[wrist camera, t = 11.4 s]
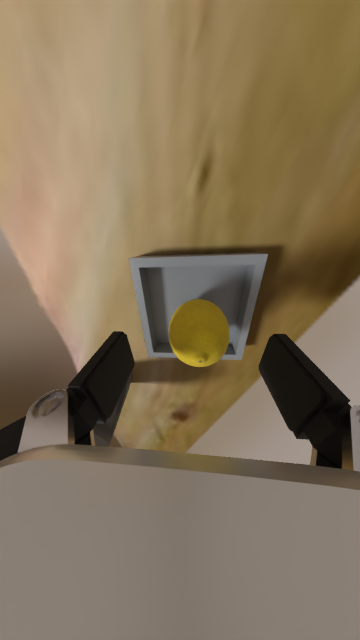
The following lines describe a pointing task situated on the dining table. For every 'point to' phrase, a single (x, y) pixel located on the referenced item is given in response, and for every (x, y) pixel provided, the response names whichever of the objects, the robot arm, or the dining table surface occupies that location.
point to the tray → (196, 293)
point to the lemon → (199, 333)
